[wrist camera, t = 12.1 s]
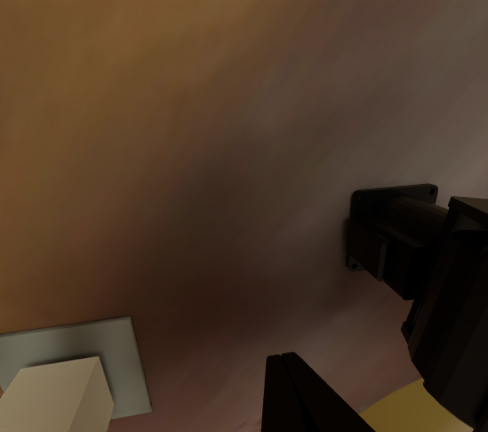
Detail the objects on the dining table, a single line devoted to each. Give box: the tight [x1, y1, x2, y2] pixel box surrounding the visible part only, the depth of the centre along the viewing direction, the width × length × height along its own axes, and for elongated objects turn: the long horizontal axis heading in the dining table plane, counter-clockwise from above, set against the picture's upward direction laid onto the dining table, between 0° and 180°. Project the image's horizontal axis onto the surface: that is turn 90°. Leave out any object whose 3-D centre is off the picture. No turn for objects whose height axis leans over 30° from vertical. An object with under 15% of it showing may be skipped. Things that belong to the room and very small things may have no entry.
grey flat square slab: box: [0, 316, 152, 420], centre depth 18 cm, size 10×10×7 cm
